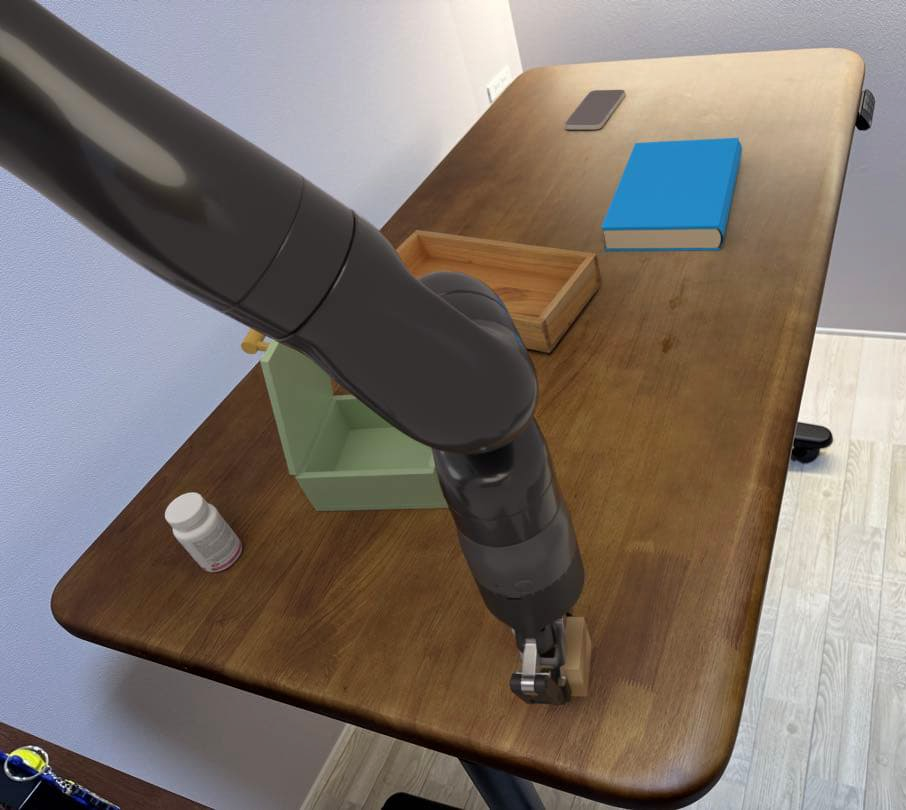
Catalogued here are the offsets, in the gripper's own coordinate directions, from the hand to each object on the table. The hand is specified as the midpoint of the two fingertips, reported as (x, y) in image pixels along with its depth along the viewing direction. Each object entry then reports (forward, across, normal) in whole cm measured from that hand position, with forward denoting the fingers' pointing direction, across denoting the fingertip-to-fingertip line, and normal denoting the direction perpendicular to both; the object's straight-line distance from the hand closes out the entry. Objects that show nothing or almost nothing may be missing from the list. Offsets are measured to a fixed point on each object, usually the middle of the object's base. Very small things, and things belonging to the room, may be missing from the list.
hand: (562, 667), depth 64 cm
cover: (-11, -26, -28) cm, 40 cm away
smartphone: (+3, -113, -6) cm, 113 cm away
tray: (+3, -56, -18) cm, 59 cm away
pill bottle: (+4, -14, -40) cm, 42 cm away
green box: (+4, -26, -23) cm, 35 cm away
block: (0, 0, 0) cm, 0 cm away
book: (+3, -77, +9) cm, 78 cm away
